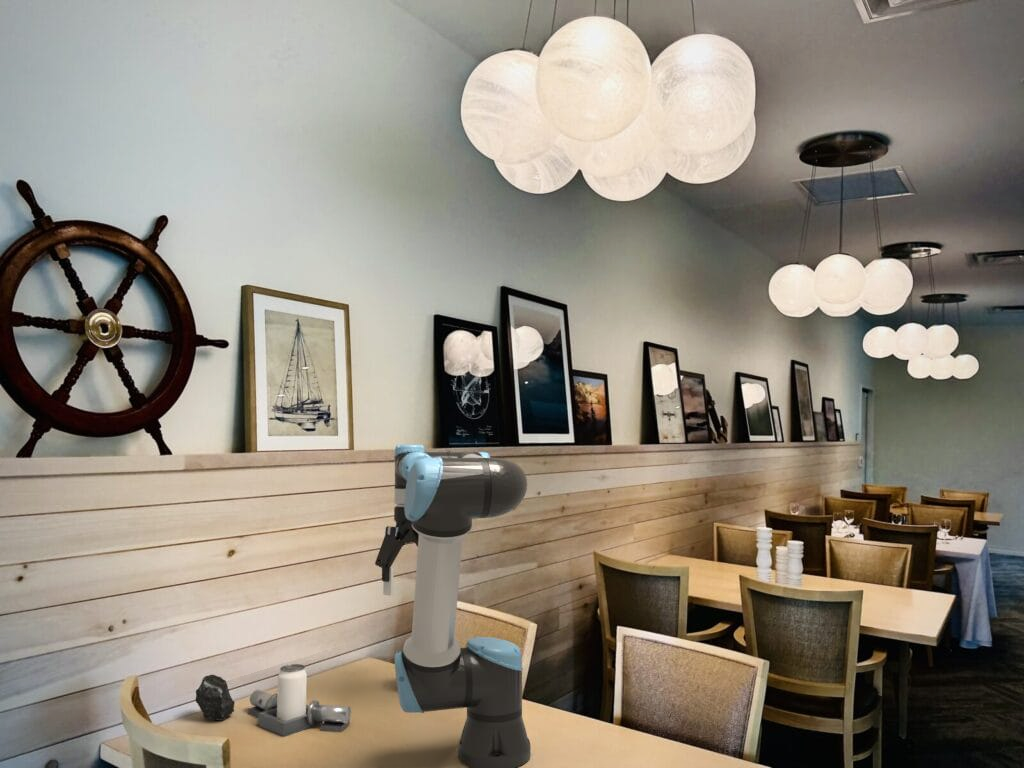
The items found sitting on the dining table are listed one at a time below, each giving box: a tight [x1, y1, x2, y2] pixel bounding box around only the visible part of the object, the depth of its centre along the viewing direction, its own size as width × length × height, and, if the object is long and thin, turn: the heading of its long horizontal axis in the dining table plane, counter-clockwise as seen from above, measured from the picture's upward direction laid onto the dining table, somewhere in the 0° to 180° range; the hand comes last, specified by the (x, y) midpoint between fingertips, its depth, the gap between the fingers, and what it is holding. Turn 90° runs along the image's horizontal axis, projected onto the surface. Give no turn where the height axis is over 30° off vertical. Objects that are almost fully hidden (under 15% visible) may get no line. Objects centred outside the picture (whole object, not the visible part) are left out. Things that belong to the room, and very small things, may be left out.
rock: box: [194, 674, 235, 721], centre depth 175 cm, size 8×7×10 cm
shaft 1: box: [247, 689, 277, 719], centre depth 177 cm, size 9×5×6 cm, turn 50°
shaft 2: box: [307, 699, 352, 733], centre depth 169 cm, size 9×5×6 cm, turn 80°
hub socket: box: [257, 704, 324, 737], centre depth 171 cm, size 10×10×3 cm
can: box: [276, 663, 308, 721], centre depth 171 cm, size 6×6×12 cm
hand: (408, 590), depth 185 cm, fingers open, 13 cm apart
